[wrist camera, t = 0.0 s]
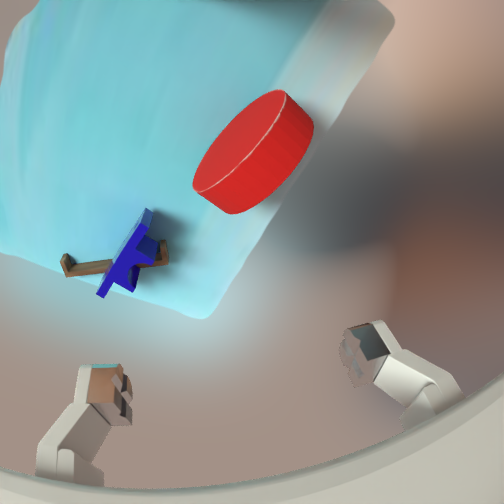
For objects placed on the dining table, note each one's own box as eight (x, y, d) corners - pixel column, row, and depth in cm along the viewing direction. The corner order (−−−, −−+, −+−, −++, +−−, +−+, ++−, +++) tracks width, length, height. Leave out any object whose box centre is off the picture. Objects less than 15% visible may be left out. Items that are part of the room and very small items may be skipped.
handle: (63, 254, 57) (58, 264, 54) (165, 239, 61) (164, 250, 57) (69, 269, 59) (65, 280, 56) (168, 256, 63) (168, 267, 60)
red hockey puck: (215, 184, 56) (229, 238, 40) (191, 166, 53) (194, 215, 37) (287, 107, 50) (336, 128, 34) (264, 86, 47) (306, 95, 31)
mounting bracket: (103, 274, 59) (127, 287, 61) (95, 294, 52) (121, 308, 55) (145, 207, 54) (171, 224, 57) (140, 222, 48) (169, 240, 50)
